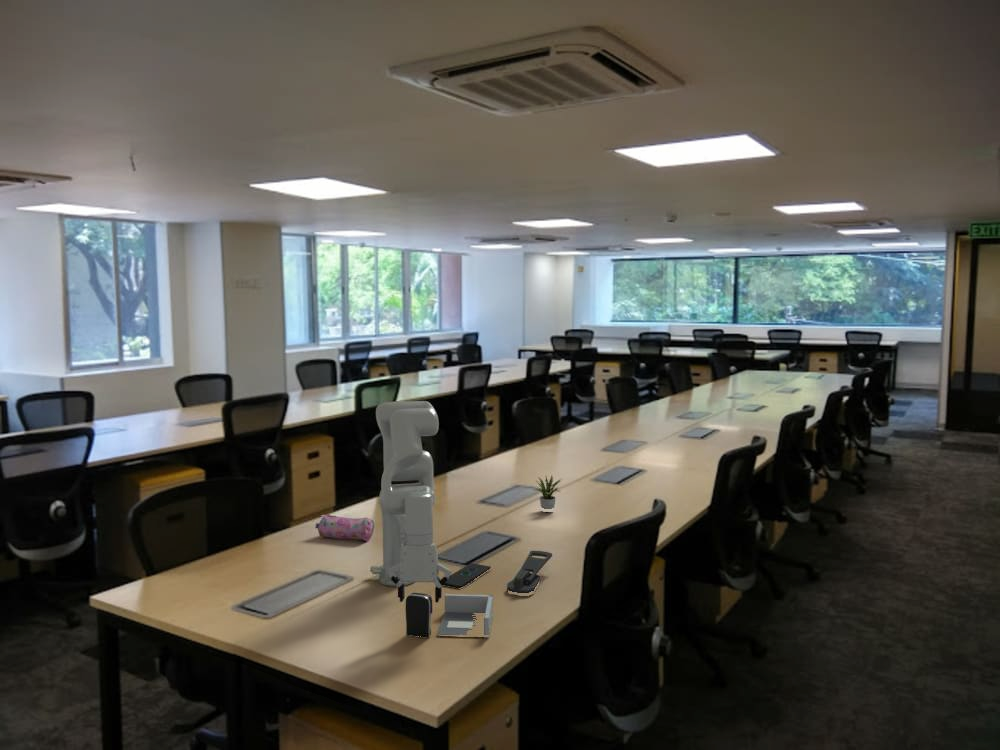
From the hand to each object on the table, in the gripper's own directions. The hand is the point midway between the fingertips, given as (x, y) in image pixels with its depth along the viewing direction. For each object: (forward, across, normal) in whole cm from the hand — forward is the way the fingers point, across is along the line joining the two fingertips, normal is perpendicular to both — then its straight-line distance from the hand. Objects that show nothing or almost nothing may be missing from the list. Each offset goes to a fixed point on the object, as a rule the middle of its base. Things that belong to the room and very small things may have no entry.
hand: (419, 600), depth 199 cm
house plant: (+7, +36, +125) cm, 130 cm away
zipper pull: (+10, +29, +42) cm, 52 cm away
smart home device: (+10, +8, +44) cm, 46 cm away
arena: (+10, +12, +8) cm, 17 cm away
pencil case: (+8, -43, +82) cm, 93 cm away
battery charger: (+10, 0, +1) cm, 10 cm away
